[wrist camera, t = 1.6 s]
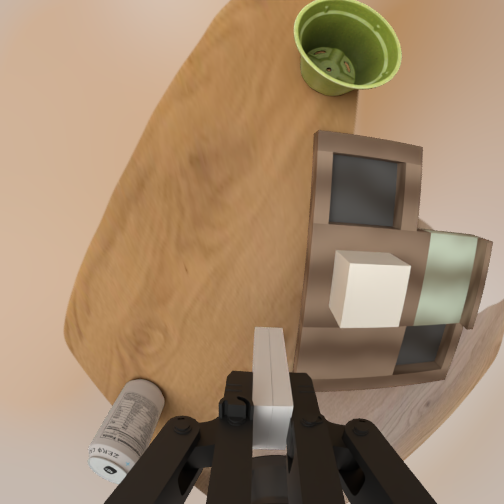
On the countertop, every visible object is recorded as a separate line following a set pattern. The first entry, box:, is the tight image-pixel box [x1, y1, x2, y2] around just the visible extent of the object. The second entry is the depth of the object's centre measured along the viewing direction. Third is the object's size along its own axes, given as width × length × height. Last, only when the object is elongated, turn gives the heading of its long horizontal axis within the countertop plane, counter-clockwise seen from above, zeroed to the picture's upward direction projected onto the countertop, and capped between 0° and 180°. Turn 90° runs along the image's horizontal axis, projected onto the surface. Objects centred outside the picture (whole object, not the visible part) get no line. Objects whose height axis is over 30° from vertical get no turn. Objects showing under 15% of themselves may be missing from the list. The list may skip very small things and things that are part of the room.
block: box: [329, 250, 411, 328], centre depth 28 cm, size 6×6×5 cm
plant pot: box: [294, 0, 402, 96], centre depth 23 cm, size 9×9×9 cm
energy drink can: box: [88, 379, 165, 484], centre depth 30 cm, size 6×6×15 cm
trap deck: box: [293, 130, 493, 392], centre depth 30 cm, size 29×22×4 cm
